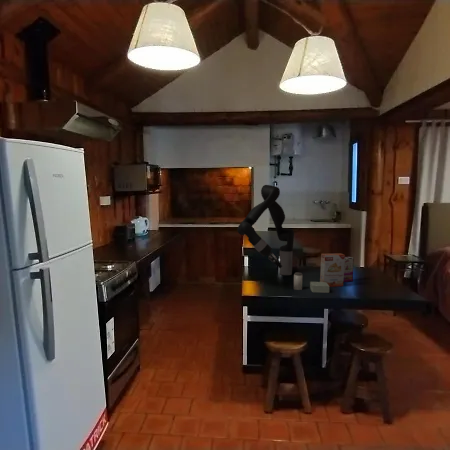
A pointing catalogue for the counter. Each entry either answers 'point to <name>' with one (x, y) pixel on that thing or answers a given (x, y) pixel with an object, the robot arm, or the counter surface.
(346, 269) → the candy bar box
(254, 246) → the robot arm
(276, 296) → the counter surface
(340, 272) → the cracker box
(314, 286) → the base
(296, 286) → the jar
